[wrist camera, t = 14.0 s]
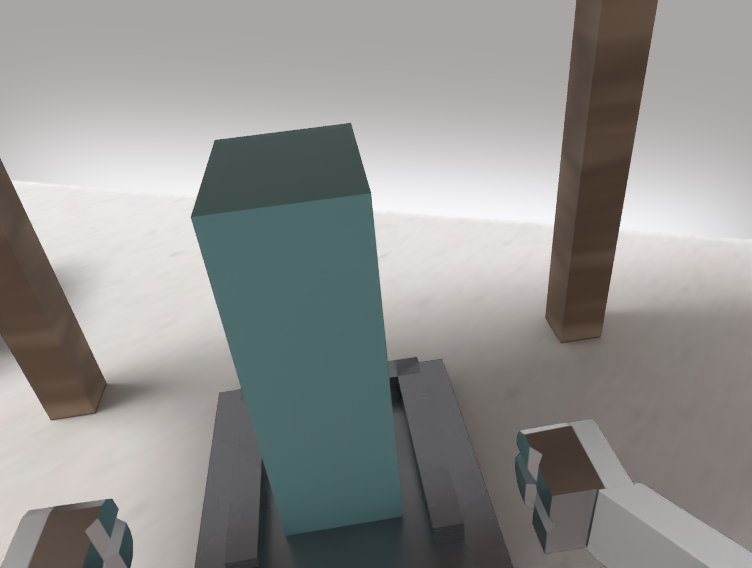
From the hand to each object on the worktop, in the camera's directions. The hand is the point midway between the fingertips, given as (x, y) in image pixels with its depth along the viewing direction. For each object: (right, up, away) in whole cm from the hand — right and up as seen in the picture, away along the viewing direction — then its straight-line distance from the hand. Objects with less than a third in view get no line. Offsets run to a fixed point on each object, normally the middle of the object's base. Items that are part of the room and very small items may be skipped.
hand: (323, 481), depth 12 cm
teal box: (0, -3, +10) cm, 10 cm away
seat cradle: (0, -4, +10) cm, 11 cm away
